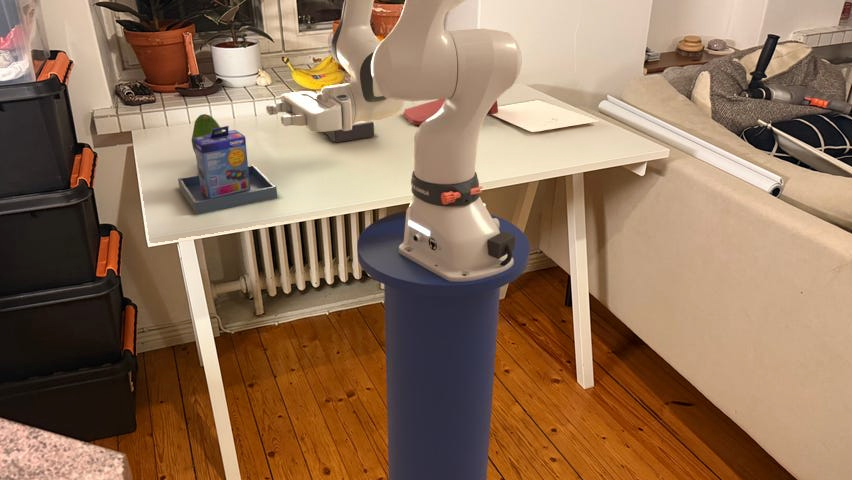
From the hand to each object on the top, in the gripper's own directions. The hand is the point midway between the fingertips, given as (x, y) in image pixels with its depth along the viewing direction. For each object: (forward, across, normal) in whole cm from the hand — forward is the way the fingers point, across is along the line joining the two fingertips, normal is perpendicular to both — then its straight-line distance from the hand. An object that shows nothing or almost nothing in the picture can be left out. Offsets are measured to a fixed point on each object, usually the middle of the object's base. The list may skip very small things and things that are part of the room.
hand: (274, 115), depth 147 cm
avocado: (+10, -20, +15) cm, 27 cm away
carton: (-59, -24, +15) cm, 66 cm away
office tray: (+12, 0, +15) cm, 19 cm away
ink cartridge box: (+12, -1, +15) cm, 19 cm away
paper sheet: (-79, -11, +15) cm, 81 cm away
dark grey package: (-27, -26, +15) cm, 41 cm away
